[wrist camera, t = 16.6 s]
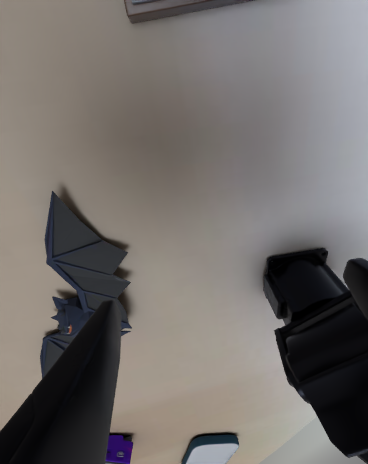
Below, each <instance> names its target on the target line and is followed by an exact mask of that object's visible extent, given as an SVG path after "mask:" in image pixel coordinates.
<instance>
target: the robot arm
mask: <svg viewBox="0 0 368 464" xmlns="http://www.w3.org/2000/svg"><path fill="white" fill-rule="evenodd" d="M327 255H328V251H327V250H326V249H324V248H321V249H315V250H309V251H303V252H297V253H291V254H285V255H279V256H273V257H270V258H268V259H267V269H266V274H265V275H264V288H263V290H264V293H265V296H266V298H267V299H268V301H269V303H270V305H271V307H272V309H273V311H274V314H275V316H276V318H278V319H283V321H284V323H285V326H283V327H282V328H278V329H276V330H274V331H275V335H276V341H277V345H278V349H279V352H280V356H281V360H282V363H283V367H284V371H285V374H286V376H287V380H288V383H289V384H290V385H291V386H292V387H294V388H295V389H296V391H297V392H298V394H299V395H300V396H301V397H302V398H303V399H304V401H306V402H307V403H309V404H311V406H312V407H313V409H314V411H315V413H316V414H317V416H318V418H319V420H320V422H321V424H322V426H323V428H324V429H325V431H326V433H327V435H328V437H329V439H330V441H331V442H332V443H333V444H334V445H335V446H336V447H337V448H338V449H339V450H340V451H341V452H342V453H343V454H344V455H345V456H347V457H348V458H350V457H353V456H358V457H359V458H360V459H362V460H363V461H364V462H365V463H367V464H368V261H367V260H365V259H362V258H356V259H350V260H349V261H348V262H347V264H346V267H345V271H344V274H343V278H344V281H345V283H346V285H347V287H348V288H349V289H348V288H347V287H346V286H345V285H344V284H343V282H342V281H341V280H340V279H339V278H338V277H337V276H336V274H335V273H334V272H333V271H332V270H331V269H330V268H329V267H328V265H327V264H326V259H327ZM272 261H273V262H272ZM120 347H121V313H120V310H119V308H118V306H117V304H116V302H115V301H114V300H106V301H103V302H102V303H101V304H100V305H99V307H98V308H97V309H96V311H95V312H94V313H93V314H92V316H91V317H90V318H89V319H88V321H87V322H86V323H85V325H84V326H83V327H82V328H81V330H80V331H79V332H78V334H77V335H76V336H75V337H74V339H73V340H72V341H71V343H70V344H69V345H68V346H67V348H66V349H65V350H64V352H63V353H62V354H61V355H60V357H59V358H58V359H57V361H56V362H55V363H54V364H53V366H52V367H51V368H50V369H49V371H48V372H47V373H46V375H45V376H44V377H43V378H42V380H41V381H40V382H39V384H38V385H37V386H36V387H35V389H34V390H33V392H32V394H30V395H29V396H28V398H27V399H26V400H25V401H24V403H23V404H22V405H21V407H20V408H19V409H18V410H17V412H16V413H15V414H14V415H13V416H12V418H11V419H10V420H9V421H8V423H7V424H6V425H5V426H4V428H3V429H2V430H1V431H0V464H105V461H106V454H107V447H108V440H109V432H110V425H111V418H112V411H113V404H114V397H115V390H116V383H117V376H118V369H119V362H120Z"/></svg>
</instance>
